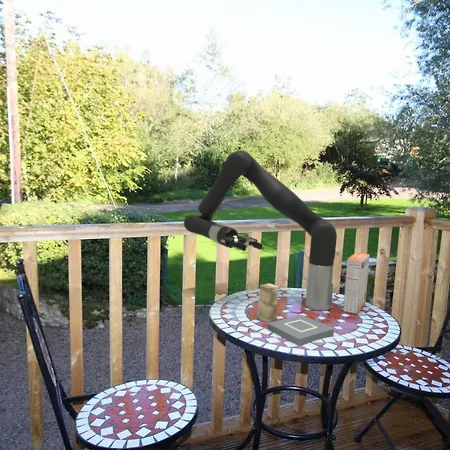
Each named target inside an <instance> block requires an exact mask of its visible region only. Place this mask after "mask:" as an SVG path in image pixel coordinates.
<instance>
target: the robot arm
mask: <svg viewBox="0 0 450 450" xmlns="http://www.w3.org/2000/svg"><path fill="white" fill-rule="evenodd" d="M241 176H243V177H244V178H245V179H247V180H248V181H249V182H251V183H252V184H253V186H255V188H256V189H257V190H258V192H259V193H260V195H261V196H262V197H263V198H264V200H265V201H266V202H267V203H268V204H269V205H271V206H272V207H273V208H274V209H275V210H276V211H278V212H279V213H280V214H282V215H283V216H284V217H287V218H288V219H290V220H291V221H293V222H295V223H296V224H298V226H300V228H302V229H303V230H304V231H305V232H306V233H308V235H309V236H310V249H309V258H308V271H307V279H306V280H307V281H306V283H307V284H306V294H305V307H306V308H308V309H310V310H314V311H321V312H322V311H324V312H325V311H328V310H330V309H331V308H332V305H333V304H332V303H333V291H334V283H333V275H334V263H335V259H336V258H335V257H336V249H337V238H338V235H337V230H336V227H334V225H333V224H332V223H330V222H329V221H327V220H326V219H324V218H323V217H321V216H320V215H318V214H317V213H315V212H314V211H313V210H312V209H311V208H309V206H308V205H307V204H306V203H305V202H304V201H303V200H302V199H301V198H300V197H299V196H298V195H297V194H296V193H295V192H294V191H292V190H291V188H289V187H288V186H287V185H285V184H284V183H283V182H281V181H280V180H279V179H277V178H276V176H274V175H272V174H271V173H270V172H268V171H267V170H266V169H265V168H264V167H262V165H261V164H260V163H259V162H258V161H257V160H256V159H255V158H254V157H253V156H252V155H251V153H249V152H248V151H245V150H240V149H239V150H236V151H234V152H231V153H230V154H228V156H227V157H226V160H225V162H224V164H223V166H222V169H221V170H220V173H219V174H218V177H216V180H215V181H214V183H213V184H212V186H211V187H210V189H209V190H208V192H207V193H206V194H205V195H204V197H203V199H202V200H201V202H200V203H199V205H198V208H197V209H198V212H199V213H200V215H198V214H189V215H187V216H185V218H184V221H183V227H184V229H185V230H186V231H188V232H189V233H192V234H196V235H199V236H203V237H205V238H206V239H209V240H211V241H212V242H215V243H216V244H219V245H221V246H223V247H226V248H229V249H233V248H234V249H238V250H240V251H243V252H246V251H247V248H248V247H251V248H255V249H257V250H262V249H263V243H261V242H258V239H257V238H254V237H251V236H248V235H244V236H243V235H242V234H239V232H238V230H236V228H233V227H230V226H228V225H225V224H222V223H218V222H215V221H213V218H214V214H215V213H216V212H217V211H218V209H219V208H220V206H221V204H222V203H223V201H224V200H225V197H226V195H227V194H228V192H229V190H230V189H231V187H232V186H233V184H234V183H236V181H237V180H238V179H239V178H240V177H241Z"/></svg>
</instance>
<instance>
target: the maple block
mask: <svg viewBox="0 0 450 450" xmlns="http://www.w3.org/2000/svg"><path fill="white" fill-rule="evenodd" d="M278 298H279V286H278V285H275V284H272V283H270V282H269V283H265V284H260V285H259V300H258V311H257V313H258V314H257V319H259V320H261V321H263V322H265V323H271V322H275V321H277V313H278Z"/></svg>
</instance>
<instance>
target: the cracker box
mask: <svg viewBox="0 0 450 450" xmlns="http://www.w3.org/2000/svg"><path fill="white" fill-rule="evenodd" d="M369 266H370V254H368V253H363V252H355V253H353V254H352V255H351V256H349V257H347V260H346V271H345V272H346V273H345V285H344V298H343V310H342V311H343V313H349V314H353V315H359V314H360V312H361V311H362V310H363V308H364V307H365V306H366V300H367V292H368V291H367V290H368V289H367V287H368V279H369V276H368V275H369V268H370V267H369Z"/></svg>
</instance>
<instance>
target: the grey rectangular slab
mask: <svg viewBox="0 0 450 450" xmlns="http://www.w3.org/2000/svg"><path fill="white" fill-rule="evenodd" d="M267 330H269V331H270V332H272V333H274V334H275V335H278V336H279V337H281V338H284V339H285V340H287V341H289V342H292V343H293V344H295V345H297V346H301V345H305V344H308V343H311V342H315V341H317V340H320V339H325V338H327V337H330V336H334V335H335V334H334V333H335V329H334V328H333V327H330V326H328V325H326V324H324V323H322V322H319V321H317V320H314V319H312V318H310V317H308V316H305V315H303V314H302V315H301V314H300V315H297V316H292V317H288V318H284V319H280V320H275V321H270V322H267ZM324 337H325V338H324Z"/></svg>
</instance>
